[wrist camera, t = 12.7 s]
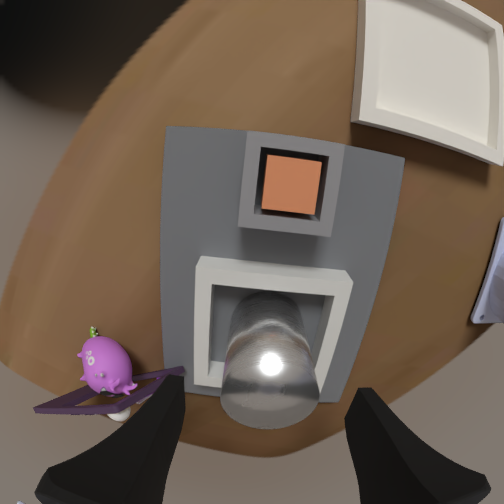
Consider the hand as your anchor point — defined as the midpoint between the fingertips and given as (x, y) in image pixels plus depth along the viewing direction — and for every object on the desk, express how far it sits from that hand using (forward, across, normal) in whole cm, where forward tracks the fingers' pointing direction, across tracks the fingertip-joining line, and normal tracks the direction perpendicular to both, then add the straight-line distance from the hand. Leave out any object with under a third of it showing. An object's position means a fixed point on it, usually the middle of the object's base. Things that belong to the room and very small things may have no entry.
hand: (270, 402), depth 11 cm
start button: (+5, 0, -8) cm, 10 cm away
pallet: (+7, 0, -2) cm, 7 cm away
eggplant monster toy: (+7, +10, +4) cm, 12 cm away
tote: (+7, -8, -16) cm, 20 cm away
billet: (+6, 0, 0) cm, 6 cm away
